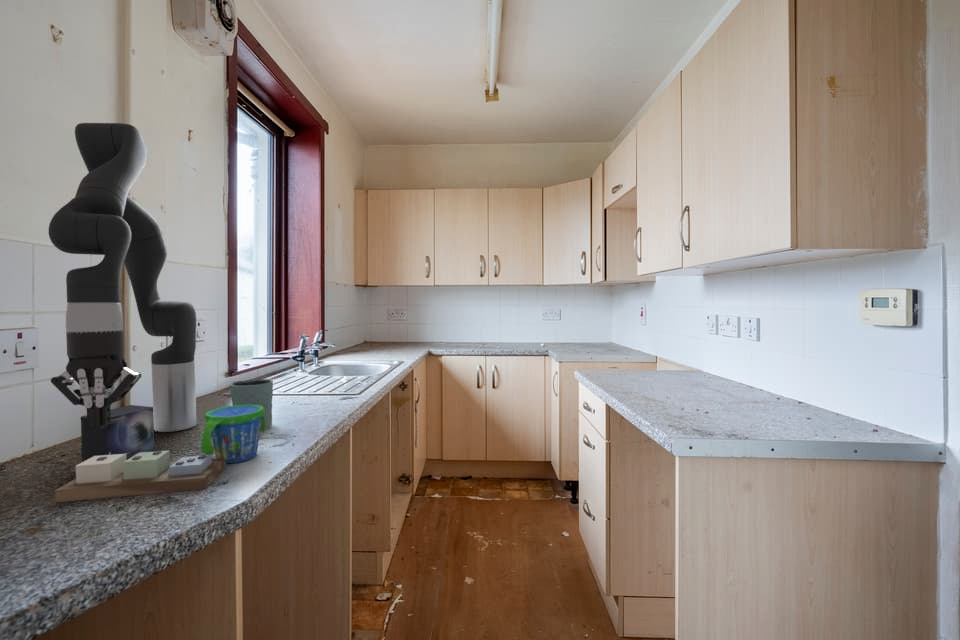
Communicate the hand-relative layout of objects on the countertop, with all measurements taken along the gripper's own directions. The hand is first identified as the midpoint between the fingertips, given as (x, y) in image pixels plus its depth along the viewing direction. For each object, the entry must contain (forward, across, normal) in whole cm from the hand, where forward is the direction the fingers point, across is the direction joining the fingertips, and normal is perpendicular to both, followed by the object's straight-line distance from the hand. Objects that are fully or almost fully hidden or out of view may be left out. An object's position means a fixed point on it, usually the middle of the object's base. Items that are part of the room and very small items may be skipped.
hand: (99, 427), depth 77 cm
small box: (+11, +5, -15) cm, 19 cm away
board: (+11, -7, 0) cm, 13 cm away
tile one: (+9, 0, 0) cm, 9 cm away
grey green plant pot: (+11, -15, -35) cm, 40 cm away
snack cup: (+11, -18, -11) cm, 24 cm away
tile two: (+9, -7, 0) cm, 12 cm away
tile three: (+11, -14, 0) cm, 18 cm away
